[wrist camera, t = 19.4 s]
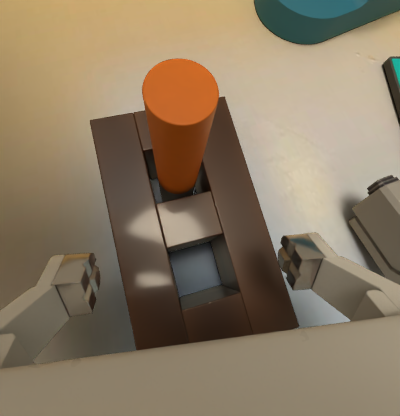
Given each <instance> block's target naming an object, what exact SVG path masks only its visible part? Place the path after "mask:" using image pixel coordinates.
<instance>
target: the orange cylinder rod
mask: <svg viewBox="0 0 400 416" xmlns="http://www.w3.org/2000/svg"><path fill="white" fill-rule="evenodd" d="M142 94H143V100H144V105H145V111H146V116H147V121H148V127H149V132H150V138H151V143H152V149H153V154H154V159H155V165H156V170H157V176H158V181H159V187H160V192H161V197H162V200H163V202H166V201H170V200H174V199H179V198H183V197H187V196H191V195H193V191H194V188H195V184H196V180H197V177H198V173H199V169H200V166H201V162H202V158H203V155H204V151H205V148H206V144H207V140H208V137H209V133H210V129H211V126H212V122H213V118H214V115H215V111H216V108H217V104H218V99H219V90H218V86H217V83H216V81H215V79H214V77H213V76H212V74H211V73H210V72H209V71H208V70H207V69H206V68H205V67H203V66H202V65H200V64H198V63H196V62H194V61H191V60H187V59H170V60H166V61H163V62H161V63H159V64H157V65H156V66H154V67H153V68H152V69H151V70H150V71H149V72H148V74H147V75H146V77H145V80H144V82H143V87H142Z"/></svg>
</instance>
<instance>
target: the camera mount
mask: <svg viewBox="0 0 400 416" xmlns="http://www.w3.org/2000/svg"><path fill="white" fill-rule="evenodd" d="M255 8H256V11H257V14H258V16H259V18H260V20H261V21H262V23H263V24H264V25H265V26H266V27H267V28H268V29H269V30H270V31H272V32H273V33H274V34H276V35H277V36H279V37H281V38H283V39H285V40H288V41H290V42H294V43H299V44H315V43H319V42H322V41H325V40H327V39H330V38H332V37H335V36H337V35H340V34H342V33H345V32H347V31H349V30H352V29H354V28H357V27H359V26H362V25H364V24H367V23H369V22H371V21H374V20H376V19H379V18H381V17H384V16H386V15H389V14H391V13H393V12H396V11H398V10H400V0H255Z"/></svg>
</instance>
